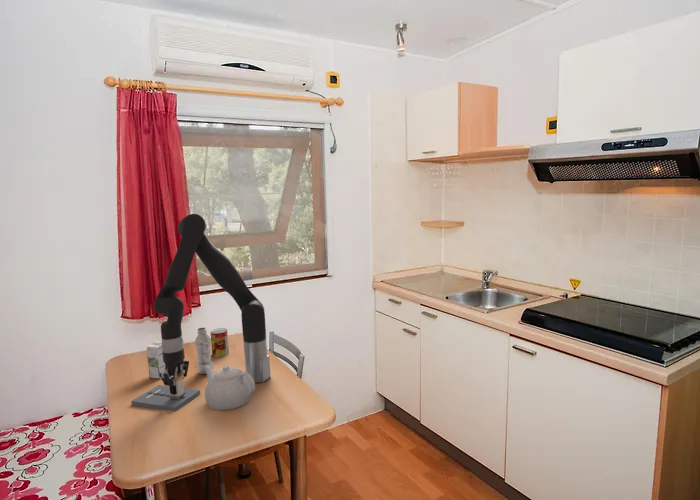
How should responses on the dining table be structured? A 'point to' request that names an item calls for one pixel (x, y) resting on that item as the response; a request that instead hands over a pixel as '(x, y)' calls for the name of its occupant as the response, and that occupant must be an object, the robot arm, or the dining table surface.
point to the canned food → (219, 342)
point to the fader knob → (178, 387)
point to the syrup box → (155, 360)
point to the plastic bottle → (203, 350)
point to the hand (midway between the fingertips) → (177, 391)
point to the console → (164, 398)
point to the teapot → (228, 388)
